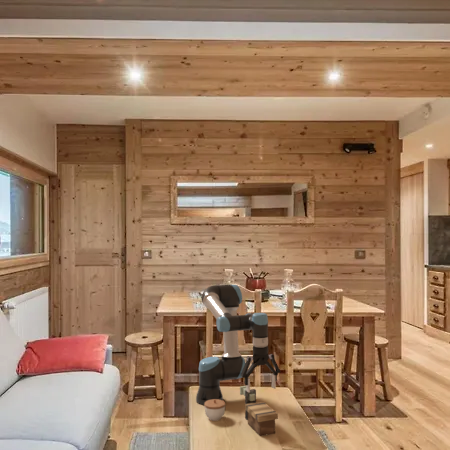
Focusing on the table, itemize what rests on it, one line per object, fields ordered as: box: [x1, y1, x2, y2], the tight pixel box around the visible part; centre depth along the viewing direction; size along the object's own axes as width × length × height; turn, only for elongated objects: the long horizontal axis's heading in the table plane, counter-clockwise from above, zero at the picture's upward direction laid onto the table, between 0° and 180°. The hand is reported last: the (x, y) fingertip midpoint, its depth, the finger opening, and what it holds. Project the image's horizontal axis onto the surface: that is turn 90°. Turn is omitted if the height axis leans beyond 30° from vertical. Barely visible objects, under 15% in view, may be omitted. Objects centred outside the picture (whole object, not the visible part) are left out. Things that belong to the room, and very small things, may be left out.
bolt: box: [239, 385, 255, 401], centre depth 227 cm, size 12×4×4 cm, turn 20°
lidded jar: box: [203, 399, 226, 422], centre depth 224 cm, size 11×11×9 cm
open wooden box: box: [247, 413, 276, 437], centre depth 211 cm, size 14×8×7 cm, turn 20°
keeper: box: [244, 388, 257, 421], centre depth 223 cm, size 2×5×14 cm, turn 110°
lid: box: [244, 401, 279, 422], centre depth 212 cm, size 16×10×4 cm, turn 20°
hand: (261, 389), depth 212 cm, fingers open, 13 cm apart
